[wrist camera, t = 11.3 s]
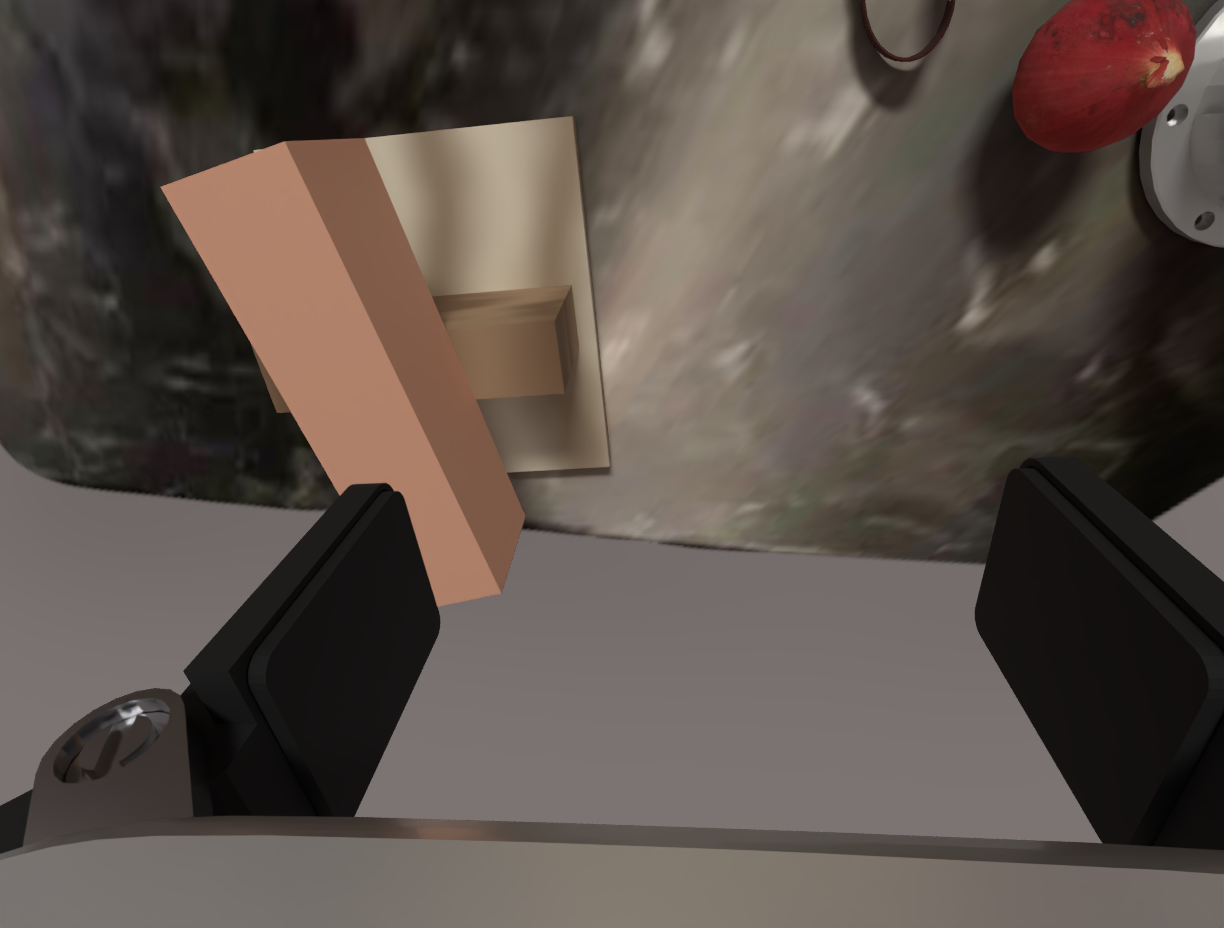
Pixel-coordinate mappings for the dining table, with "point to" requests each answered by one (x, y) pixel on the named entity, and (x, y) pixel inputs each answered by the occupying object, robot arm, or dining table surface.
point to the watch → (926, 50)
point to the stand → (507, 279)
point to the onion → (1102, 71)
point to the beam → (357, 345)
